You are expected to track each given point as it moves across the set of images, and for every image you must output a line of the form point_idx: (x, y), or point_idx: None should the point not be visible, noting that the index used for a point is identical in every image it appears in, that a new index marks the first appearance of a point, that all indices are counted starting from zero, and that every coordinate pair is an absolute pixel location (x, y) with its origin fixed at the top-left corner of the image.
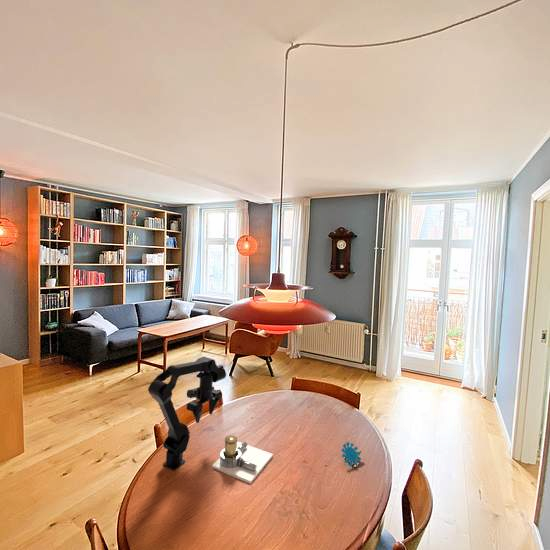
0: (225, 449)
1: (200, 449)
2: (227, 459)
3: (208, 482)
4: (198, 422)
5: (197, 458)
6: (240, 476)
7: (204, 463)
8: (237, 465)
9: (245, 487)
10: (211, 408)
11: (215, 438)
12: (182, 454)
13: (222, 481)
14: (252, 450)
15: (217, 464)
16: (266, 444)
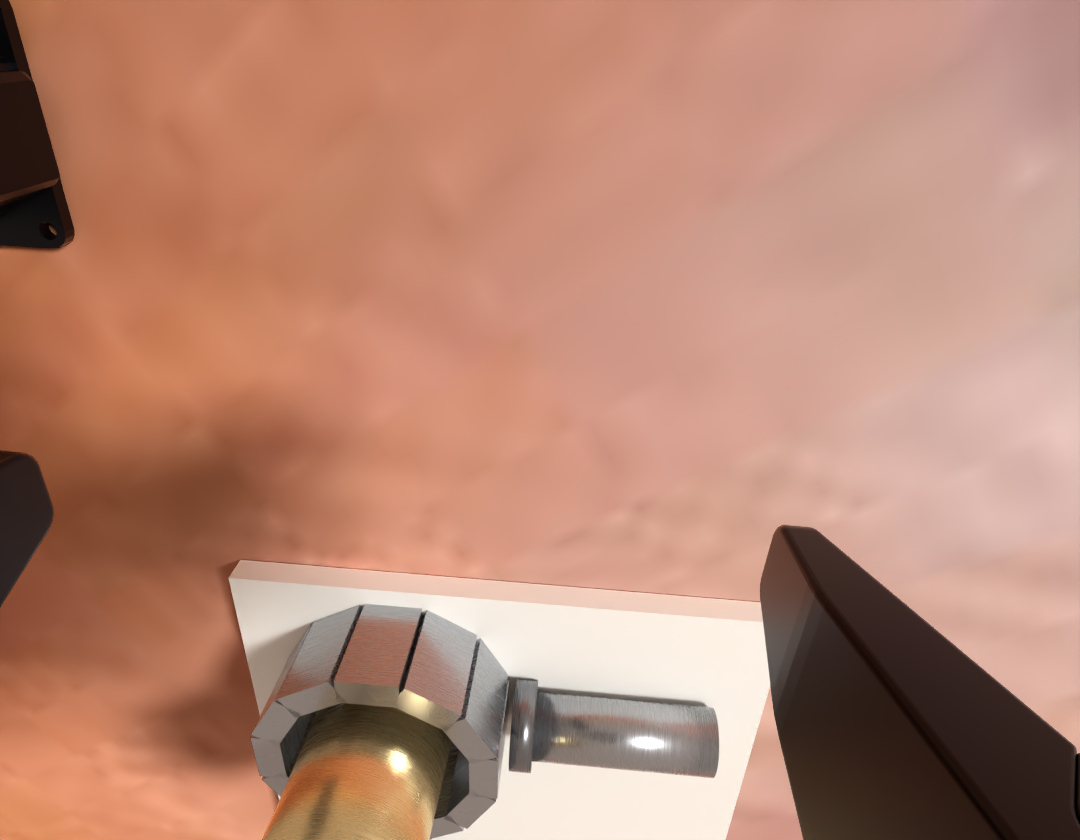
0: (276, 809)
1: (423, 258)
2: (264, 777)
3: (73, 620)
4: (18, 540)
5: (245, 340)
6: None
7: (236, 462)
8: None
9: (247, 829)
10: (846, 808)
11: (792, 299)
12: (2, 198)
13: (172, 699)
14: (681, 781)
15: (276, 613)
16: None
